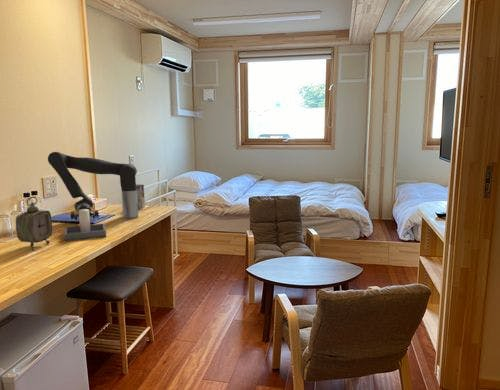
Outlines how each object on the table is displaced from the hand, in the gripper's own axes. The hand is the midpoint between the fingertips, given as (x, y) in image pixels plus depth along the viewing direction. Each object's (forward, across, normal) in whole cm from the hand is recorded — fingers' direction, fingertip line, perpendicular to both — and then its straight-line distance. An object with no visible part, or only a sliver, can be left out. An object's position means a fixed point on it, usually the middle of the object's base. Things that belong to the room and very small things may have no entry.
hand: (85, 217), depth 220 cm
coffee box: (-53, +35, +10) cm, 64 cm away
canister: (+2, 0, +8) cm, 9 cm away
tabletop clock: (+14, -23, +9) cm, 29 cm away
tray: (+2, 0, +9) cm, 9 cm away
